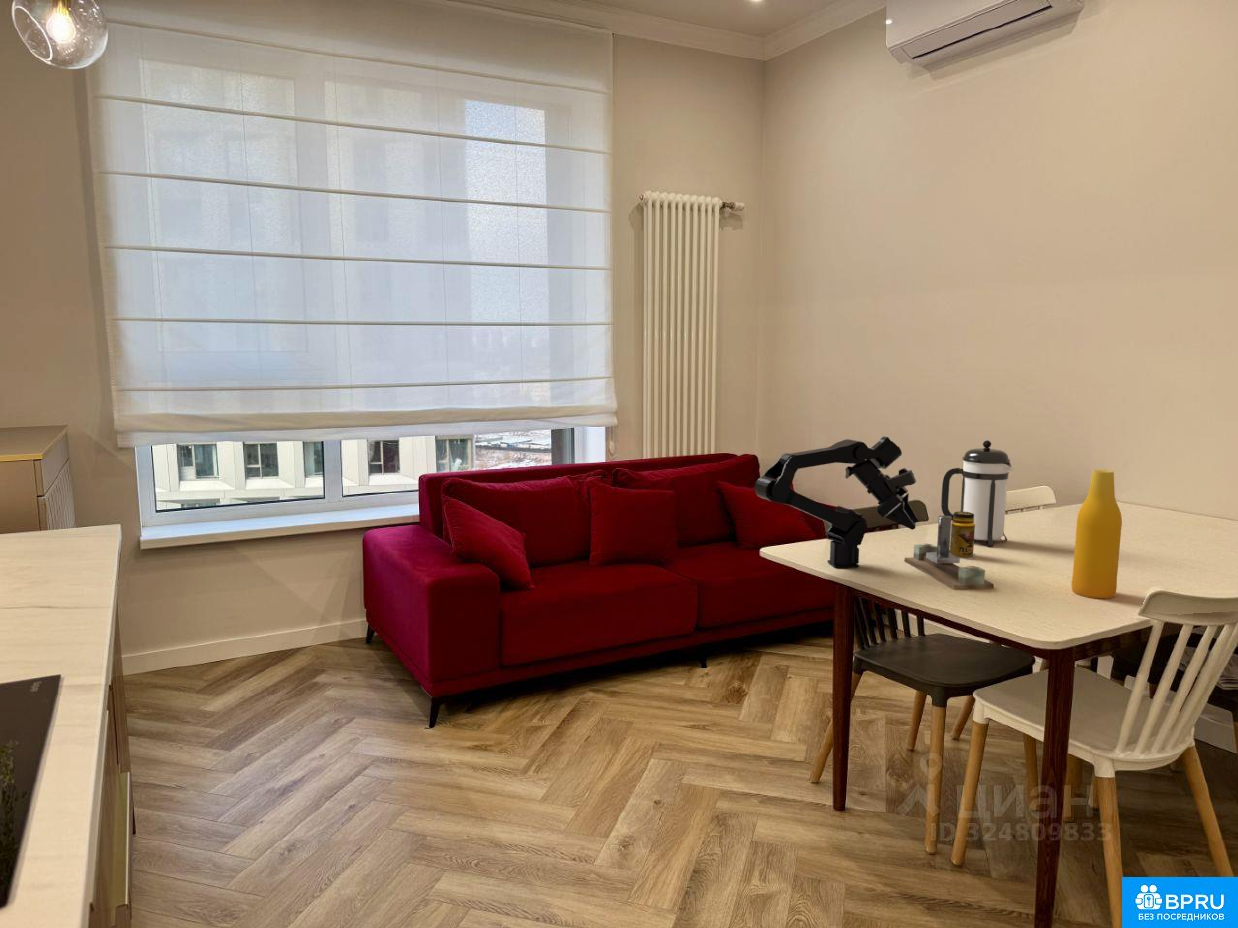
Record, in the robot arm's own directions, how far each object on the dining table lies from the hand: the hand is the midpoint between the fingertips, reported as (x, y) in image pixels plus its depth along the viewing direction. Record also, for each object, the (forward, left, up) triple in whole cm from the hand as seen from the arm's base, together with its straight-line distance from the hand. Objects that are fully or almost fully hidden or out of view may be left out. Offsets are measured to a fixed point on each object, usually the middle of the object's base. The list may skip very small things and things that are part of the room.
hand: (915, 525), depth 226 cm
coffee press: (+33, +29, -12) cm, 46 cm away
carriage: (+6, -3, -9) cm, 11 cm away
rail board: (+6, -6, -11) cm, 14 cm away
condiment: (+19, +13, -12) cm, 26 cm away
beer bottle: (+32, -26, -12) cm, 43 cm away
